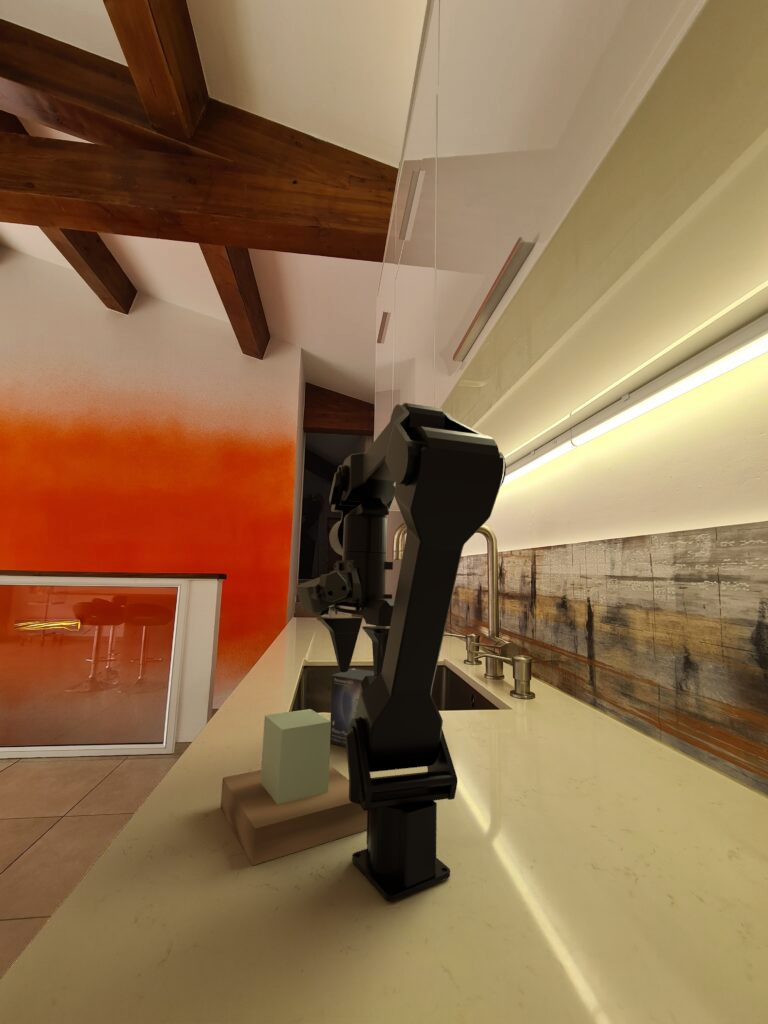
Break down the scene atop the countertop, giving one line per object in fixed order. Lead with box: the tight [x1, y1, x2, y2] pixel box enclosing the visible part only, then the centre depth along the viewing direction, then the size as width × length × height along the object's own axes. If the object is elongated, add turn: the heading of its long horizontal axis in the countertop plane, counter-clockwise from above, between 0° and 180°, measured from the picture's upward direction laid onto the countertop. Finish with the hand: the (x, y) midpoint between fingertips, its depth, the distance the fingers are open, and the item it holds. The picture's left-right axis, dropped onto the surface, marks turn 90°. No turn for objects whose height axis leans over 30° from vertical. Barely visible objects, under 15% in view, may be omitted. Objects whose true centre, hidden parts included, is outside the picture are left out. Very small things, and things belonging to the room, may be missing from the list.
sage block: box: [260, 708, 331, 804], centre depth 49 cm, size 6×6×7 cm
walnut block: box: [220, 763, 368, 866], centre depth 48 cm, size 12×12×3 cm
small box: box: [329, 667, 374, 748], centre depth 71 cm, size 11×6×10 cm, turn 62°
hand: (360, 678), depth 56 cm, fingers open, 9 cm apart
